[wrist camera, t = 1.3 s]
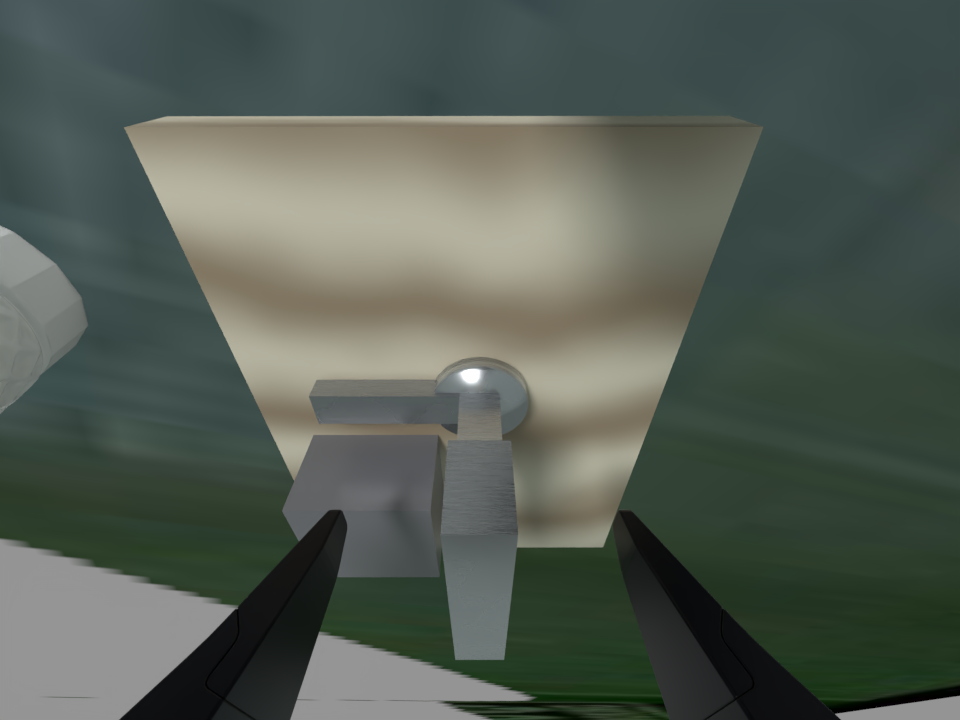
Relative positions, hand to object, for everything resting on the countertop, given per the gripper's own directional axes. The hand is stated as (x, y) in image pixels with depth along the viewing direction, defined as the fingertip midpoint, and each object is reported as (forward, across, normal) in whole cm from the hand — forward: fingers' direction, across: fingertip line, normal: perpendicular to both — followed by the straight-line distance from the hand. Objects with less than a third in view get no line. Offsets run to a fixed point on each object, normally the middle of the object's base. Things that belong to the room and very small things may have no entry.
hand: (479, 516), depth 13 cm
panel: (+8, -1, -2) cm, 8 cm away
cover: (+6, -5, -6) cm, 10 cm away
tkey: (+6, -2, 0) cm, 6 cm away
